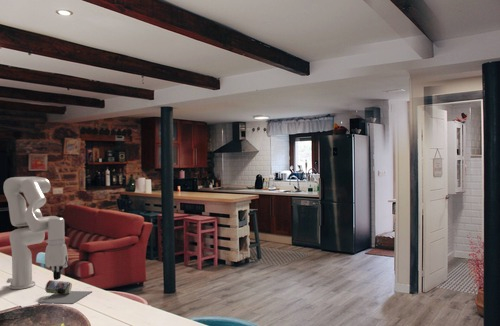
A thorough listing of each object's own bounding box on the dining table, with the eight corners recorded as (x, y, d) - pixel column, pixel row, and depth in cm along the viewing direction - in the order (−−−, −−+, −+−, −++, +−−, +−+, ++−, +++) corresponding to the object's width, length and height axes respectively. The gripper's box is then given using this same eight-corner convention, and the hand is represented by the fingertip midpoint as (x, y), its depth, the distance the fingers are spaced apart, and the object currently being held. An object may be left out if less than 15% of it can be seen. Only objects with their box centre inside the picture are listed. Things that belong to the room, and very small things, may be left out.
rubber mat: (37, 303, 198) (37, 302, 198) (59, 291, 216) (59, 290, 216) (73, 303, 196) (73, 303, 196) (92, 292, 214) (91, 291, 214)
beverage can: (47, 278, 212) (72, 277, 214) (48, 293, 212) (72, 291, 215) (43, 283, 206) (69, 281, 208) (44, 297, 206) (70, 295, 208)
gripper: (37, 243, 204) (38, 281, 204) (66, 243, 202) (67, 281, 202) (47, 241, 212) (47, 276, 211) (74, 241, 210) (75, 277, 210)
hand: (57, 279), depth 207 cm, fingers closed
